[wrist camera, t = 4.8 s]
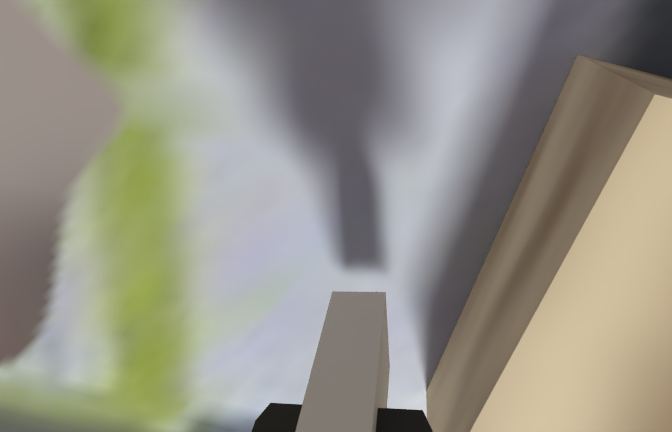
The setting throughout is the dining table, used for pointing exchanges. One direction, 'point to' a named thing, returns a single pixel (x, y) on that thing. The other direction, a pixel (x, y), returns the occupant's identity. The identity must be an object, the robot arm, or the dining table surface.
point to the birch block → (575, 275)
